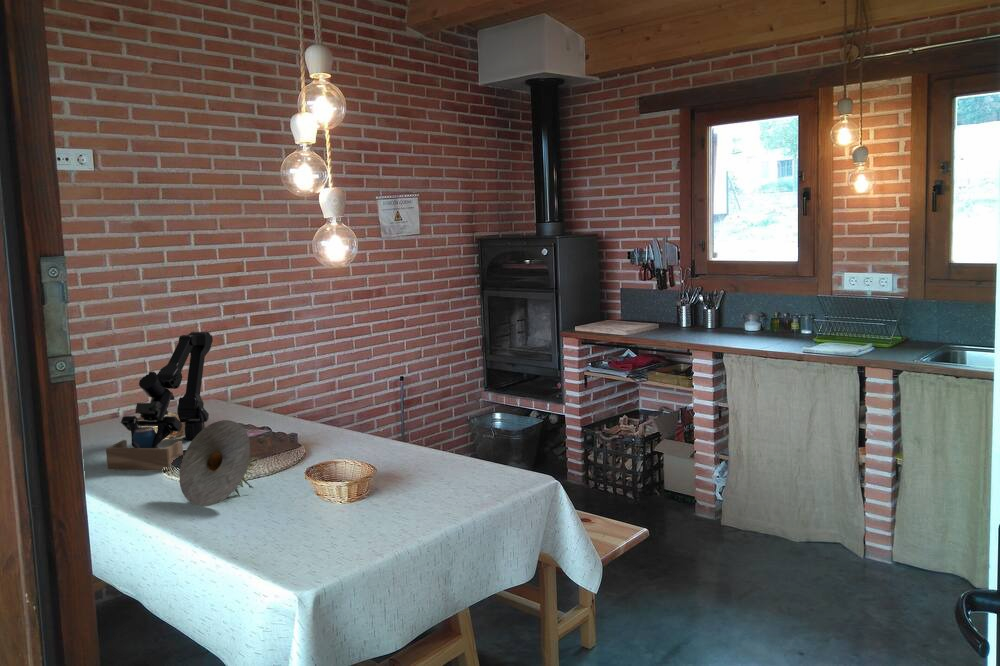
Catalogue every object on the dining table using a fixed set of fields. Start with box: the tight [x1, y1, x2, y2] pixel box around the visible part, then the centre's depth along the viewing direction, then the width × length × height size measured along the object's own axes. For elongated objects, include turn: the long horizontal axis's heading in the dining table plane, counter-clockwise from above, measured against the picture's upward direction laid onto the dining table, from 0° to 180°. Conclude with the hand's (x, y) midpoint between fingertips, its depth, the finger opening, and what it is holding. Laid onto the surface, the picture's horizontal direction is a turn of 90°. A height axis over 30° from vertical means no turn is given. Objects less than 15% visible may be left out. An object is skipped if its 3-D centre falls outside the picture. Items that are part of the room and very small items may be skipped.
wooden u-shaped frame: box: [105, 439, 184, 472], centre depth 259 cm, size 9×21×7 cm, turn 82°
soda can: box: [133, 426, 158, 448], centre depth 259 cm, size 7×7×12 cm
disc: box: [178, 419, 265, 507], centre depth 232 cm, size 25×18×25 cm
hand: (143, 446), depth 258 cm, fingers closed on soda can, 7 cm apart
